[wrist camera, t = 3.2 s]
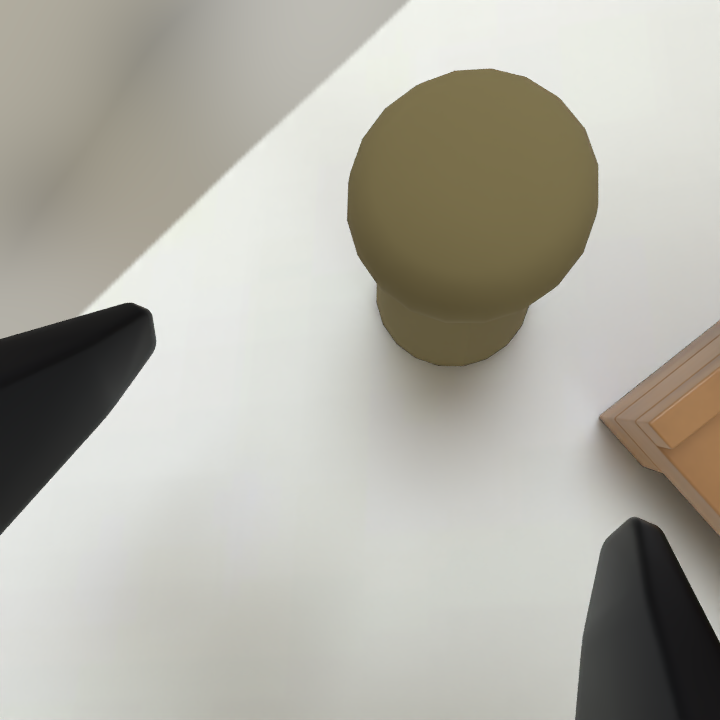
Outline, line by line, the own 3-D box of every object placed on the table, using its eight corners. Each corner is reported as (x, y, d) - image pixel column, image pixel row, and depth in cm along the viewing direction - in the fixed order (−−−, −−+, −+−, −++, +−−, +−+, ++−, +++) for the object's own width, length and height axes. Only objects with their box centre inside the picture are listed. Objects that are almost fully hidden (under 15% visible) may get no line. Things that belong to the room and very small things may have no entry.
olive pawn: (390, 207, 21) (343, -1, 10) (542, 226, 20) (676, 21, 9) (363, 352, 20) (284, 303, 10) (516, 379, 20) (620, 359, 9)
